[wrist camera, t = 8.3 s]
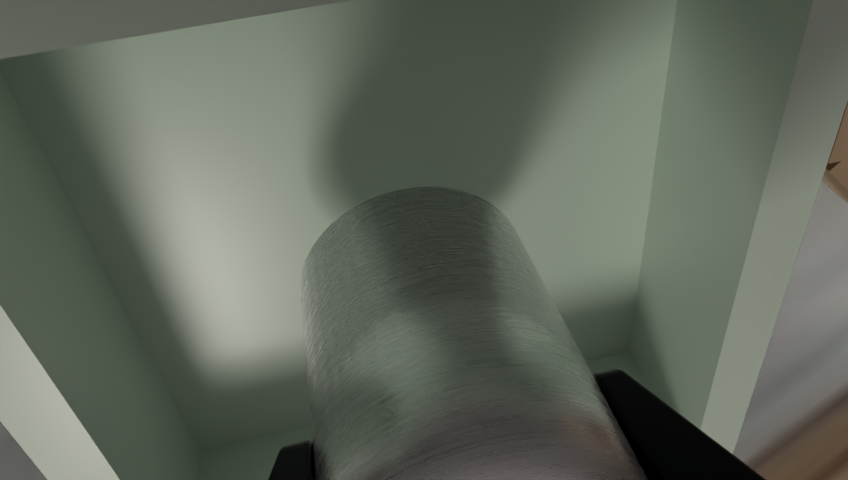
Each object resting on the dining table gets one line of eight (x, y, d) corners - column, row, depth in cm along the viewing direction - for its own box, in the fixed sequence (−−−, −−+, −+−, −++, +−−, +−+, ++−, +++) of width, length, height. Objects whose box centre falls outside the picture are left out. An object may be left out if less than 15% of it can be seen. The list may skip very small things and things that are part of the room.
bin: (736, -214, 10) (942, -193, 7) (646, 347, 18) (727, 471, 15) (-137, -88, 9) (-337, 2, 6) (174, 456, 17) (157, 616, 14)
